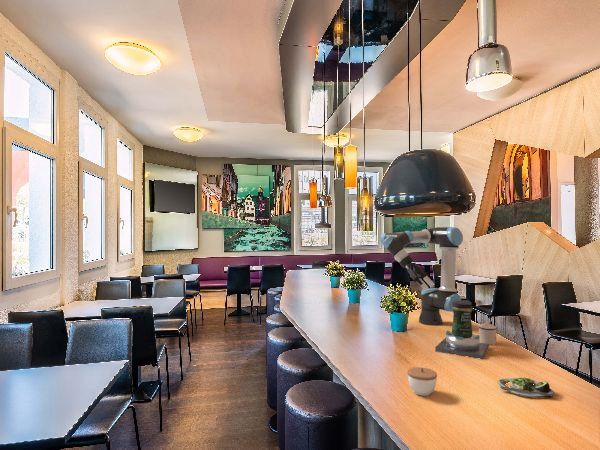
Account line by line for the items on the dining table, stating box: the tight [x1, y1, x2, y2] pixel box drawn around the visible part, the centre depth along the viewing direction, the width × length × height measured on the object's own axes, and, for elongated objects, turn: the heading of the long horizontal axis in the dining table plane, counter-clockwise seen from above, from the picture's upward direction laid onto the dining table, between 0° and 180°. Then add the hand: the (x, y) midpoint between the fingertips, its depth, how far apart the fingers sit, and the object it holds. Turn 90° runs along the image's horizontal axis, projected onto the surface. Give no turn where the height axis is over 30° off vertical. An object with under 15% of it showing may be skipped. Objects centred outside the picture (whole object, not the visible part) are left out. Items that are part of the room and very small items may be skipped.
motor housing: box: [434, 330, 490, 360], centre depth 196 cm, size 22×22×8 cm
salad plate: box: [497, 376, 557, 398], centre depth 146 cm, size 19×18×5 cm
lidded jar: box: [407, 366, 438, 397], centre depth 143 cm, size 11×11×9 cm
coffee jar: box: [451, 299, 473, 337], centre depth 197 cm, size 10×8×19 cm
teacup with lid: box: [477, 321, 497, 346], centre depth 210 cm, size 12×9×12 cm
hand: (429, 287), depth 209 cm, fingers open, 13 cm apart
